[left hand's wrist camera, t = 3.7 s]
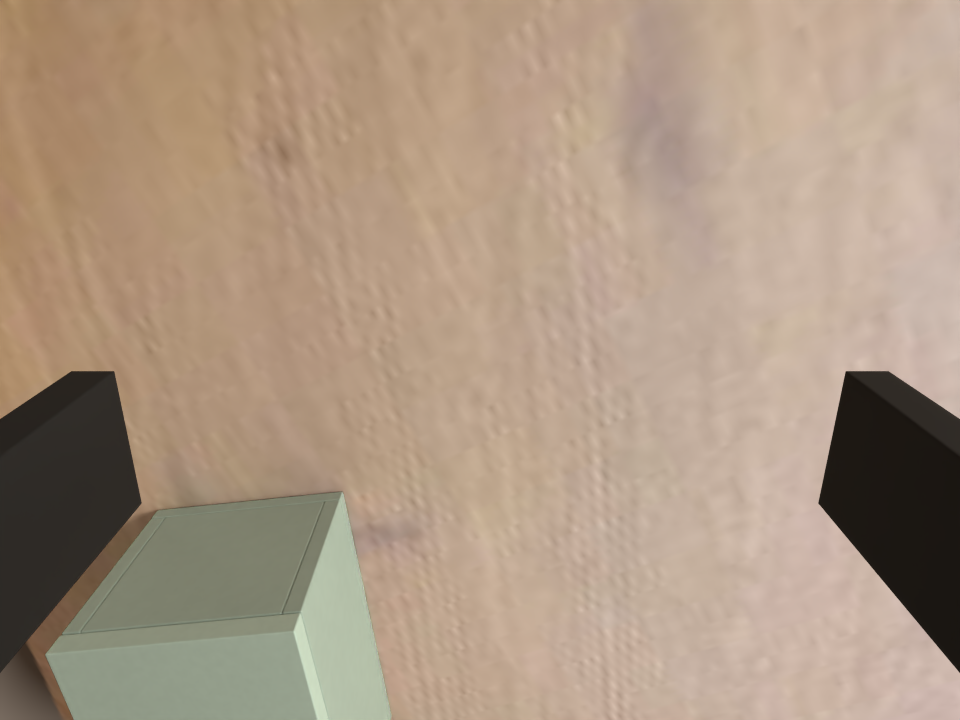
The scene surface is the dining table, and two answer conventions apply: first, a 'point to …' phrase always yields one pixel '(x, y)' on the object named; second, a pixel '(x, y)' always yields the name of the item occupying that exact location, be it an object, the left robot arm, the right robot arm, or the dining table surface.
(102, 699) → the lid
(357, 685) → the chest
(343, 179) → the dining table surface
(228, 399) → the dining table surface
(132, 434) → the dining table surface
